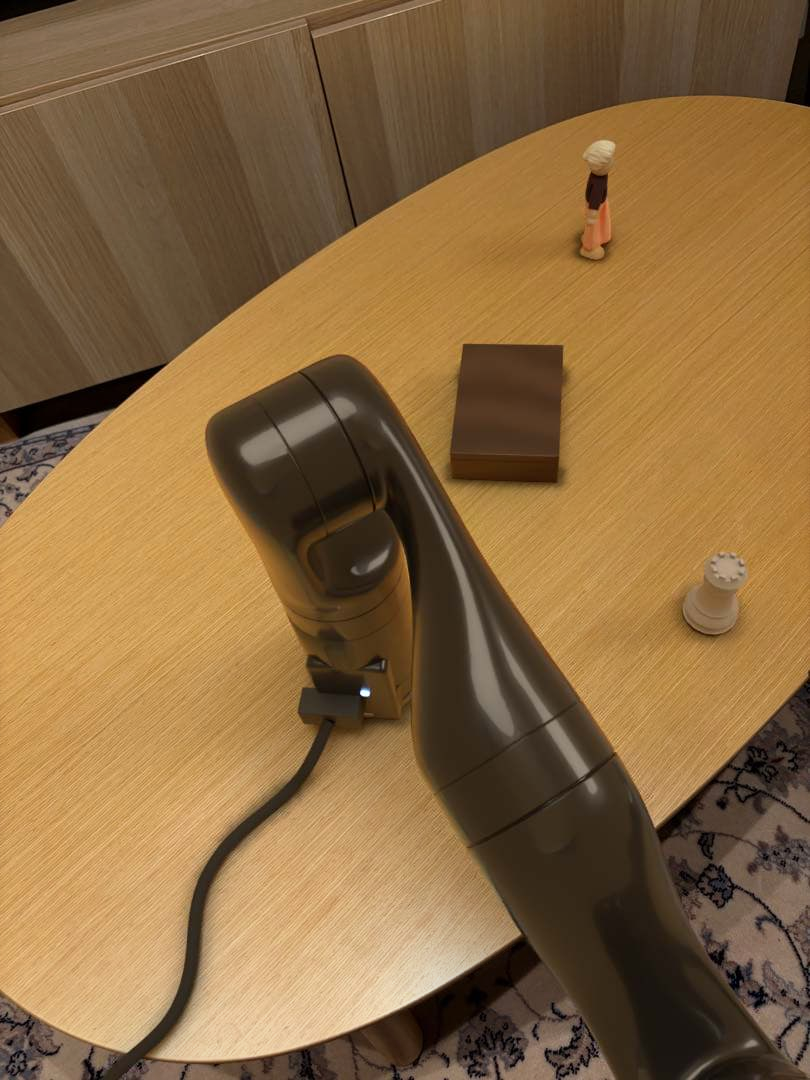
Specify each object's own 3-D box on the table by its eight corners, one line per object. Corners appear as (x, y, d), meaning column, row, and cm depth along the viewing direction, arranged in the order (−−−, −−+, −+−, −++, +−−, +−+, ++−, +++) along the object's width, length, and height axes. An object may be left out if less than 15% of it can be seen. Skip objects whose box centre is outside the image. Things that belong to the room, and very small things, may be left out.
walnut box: (557, 482, 82) (559, 456, 78) (452, 478, 83) (449, 453, 80) (561, 372, 89) (563, 344, 86) (464, 370, 91) (463, 343, 87)
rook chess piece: (747, 610, 73) (770, 561, 66) (717, 647, 71) (738, 601, 65) (700, 580, 75) (718, 530, 68) (670, 616, 73) (686, 568, 66)
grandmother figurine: (614, 264, 97) (626, 162, 86) (579, 267, 97) (587, 166, 87) (606, 220, 101) (617, 117, 90) (573, 223, 101) (580, 121, 91)
